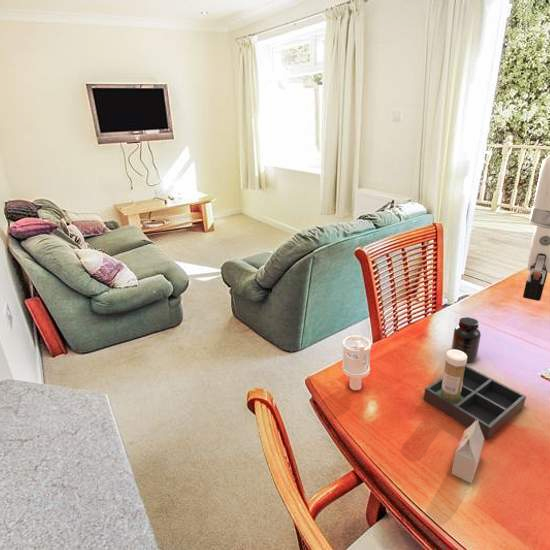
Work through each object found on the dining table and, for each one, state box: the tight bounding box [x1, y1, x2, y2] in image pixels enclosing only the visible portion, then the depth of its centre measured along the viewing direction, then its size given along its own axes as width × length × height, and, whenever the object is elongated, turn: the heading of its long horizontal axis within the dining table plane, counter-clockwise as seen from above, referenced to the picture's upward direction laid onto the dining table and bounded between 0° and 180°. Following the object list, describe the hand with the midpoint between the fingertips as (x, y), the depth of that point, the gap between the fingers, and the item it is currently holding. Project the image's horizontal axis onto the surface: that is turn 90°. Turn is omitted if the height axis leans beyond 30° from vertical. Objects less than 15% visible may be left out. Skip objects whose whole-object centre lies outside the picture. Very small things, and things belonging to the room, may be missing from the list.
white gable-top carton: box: [451, 420, 485, 484], centre depth 74 cm, size 4×7×10 cm, turn 141°
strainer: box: [341, 334, 372, 391], centre depth 97 cm, size 7×7×15 cm
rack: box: [423, 364, 527, 441], centre depth 92 cm, size 16×16×4 cm
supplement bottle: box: [450, 316, 481, 364], centre depth 107 cm, size 7×7×12 cm
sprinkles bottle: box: [440, 349, 468, 404], centre depth 90 cm, size 5×5×13 cm
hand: (534, 290), depth 85 cm, fingers open, 9 cm apart
